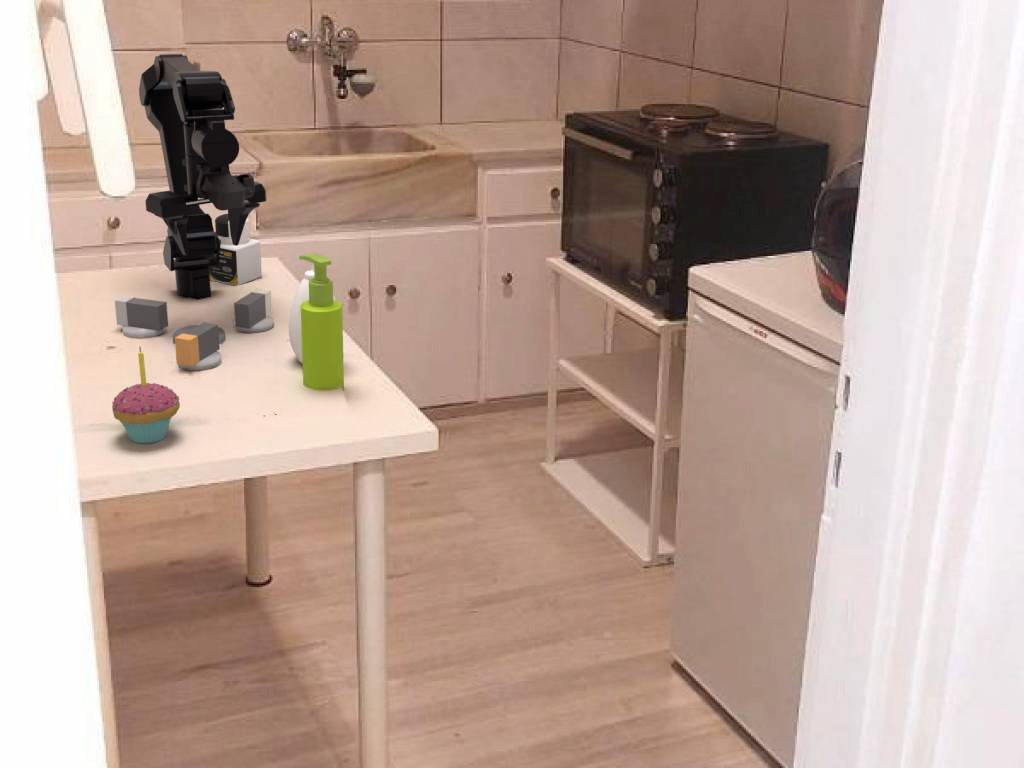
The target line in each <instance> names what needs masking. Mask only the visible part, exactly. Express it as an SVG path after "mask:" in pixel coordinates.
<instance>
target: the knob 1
mask: <svg viewBox="0 0 1024 768" xmlns="http://www.w3.org/2000/svg"><path fill="white" fill-rule="evenodd" d="M197 325H198V326H196V327H194V328H193V329H191V330H189V331H187V332H186V333H184V334H183V333H182V334H180V335H179V336H177V337H175V344H174V345H175V358H176V365H177V366H178V367H179V368H181V369H183V370H188V371H205V370H210V369H213V368H216V367H218V366H219V365H220V364H221V363H222V355H221V352H219V350H220V349H221V346H220V345H221V344H219V329H218V327H219V324H217V323H212V322H211V323H210V322H205V321H203V322H201V323H200V324H197Z"/></svg>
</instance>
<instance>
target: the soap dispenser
mask: <svg viewBox="0 0 1024 768" xmlns="http://www.w3.org/2000/svg"><path fill="white" fill-rule="evenodd" d="M298 258H299V260H305V261H306V262H307V261H308V262H310V263H311V264H312V263H314V276H315V278H313V279H311V280H310V281H309V300H307V301H305V302H303V303H302V304H301V334H302V362H303V363H302V383H303V385H304V387H306V388H308V389H312V390H318V391H324V390H325V391H328V390H334V389H337V388H340V387H341V389H342V391H343V392H344V391H345V374H344V372H345V370H344V369H345V367H344V365H345V364H344V332H343V331H344V327H343V325H344V324H343V303H342V302H341V301H339V300H333V294H334V281H333V280H332V279H331V278H329V277H328V276H327V275H328V274H327V272H328V271H327V266H331V265H332V260H331V259H330V258H328V257H325V256H323V255H321V254H318V253H308V254H303V255H298Z"/></svg>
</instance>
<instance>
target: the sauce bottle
mask: <svg viewBox="0 0 1024 768" xmlns="http://www.w3.org/2000/svg"><path fill="white" fill-rule="evenodd" d="M313 278H315V276H314V263H312V262H311V270H307V271H305V273H304V278H303V279H302V280H301V281H300V283H299V284H298V286H297V288H296V291H295V293H294V296H293V299H292V302H291V306H290V310H289V317H288V337H289V341H290V346H291V349H292V351H293V353H294V355H295V357H296V359H297V360H298V361H299V363H301V364H303V362H302V334H301V304H302V303H303V302H305V301H307V300H309V281H310V280H311V279H313ZM333 300H336V297H335V295H334V293H333Z"/></svg>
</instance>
